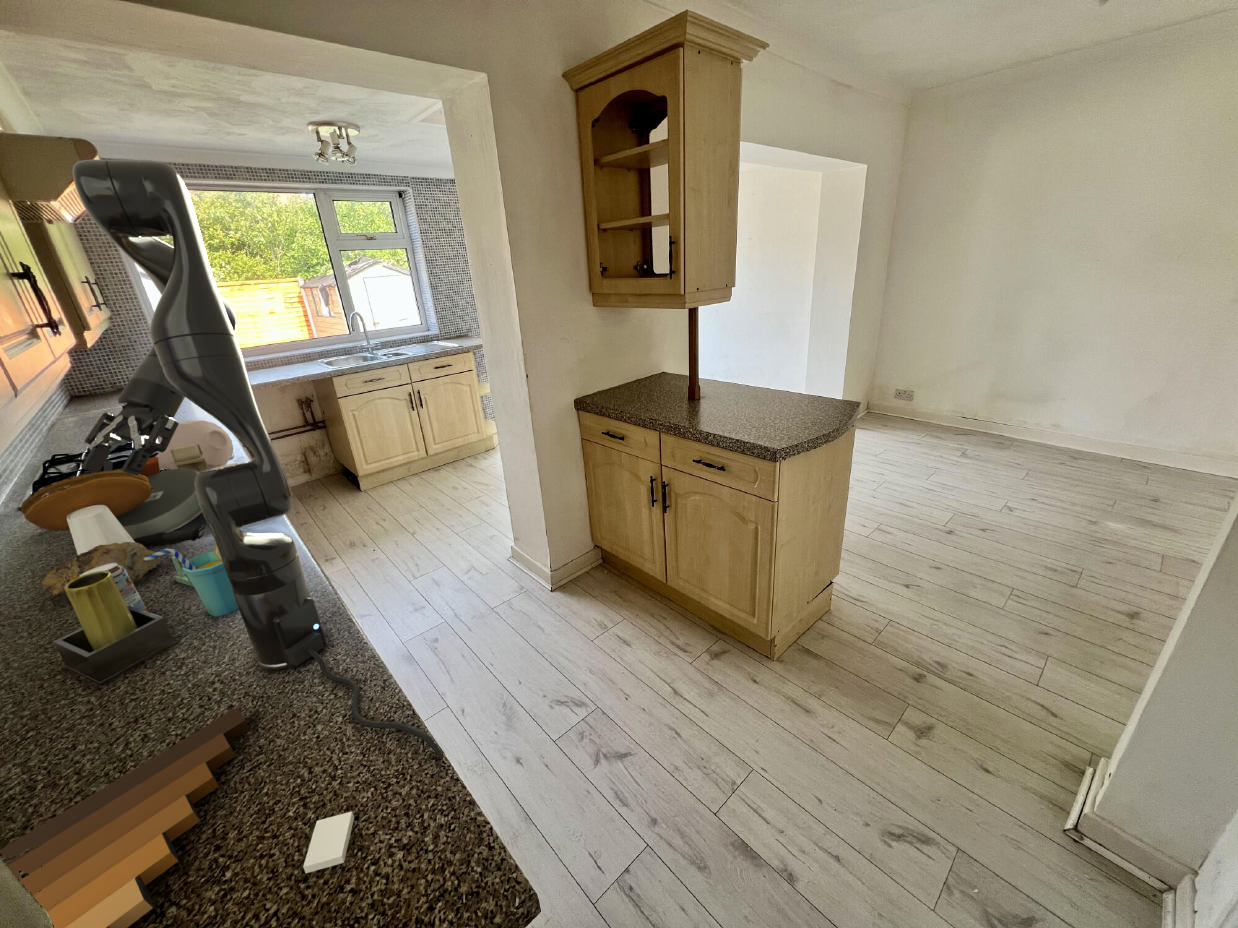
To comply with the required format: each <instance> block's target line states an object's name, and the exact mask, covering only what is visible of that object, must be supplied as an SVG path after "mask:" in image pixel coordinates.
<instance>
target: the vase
mask: <svg viewBox="0 0 1238 928" xmlns="http://www.w3.org/2000/svg"><path fill="white" fill-rule="evenodd" d="M64 588H65V591H66V594H67V596H68V598H69V600H70V601H69V602H70V604H71V606H72V608H73V610H74V612H75V615H76V617H77V619H78V621H79V623H80V626H81V628H83V630H84V632H85V634H86V636H87V639H88V641H89V643H90V645H91V646H92V648H93V650H94V651H95V650H97V649H99V648H101V647H103V646H105V645H107V644H109V643H111V642H113V641H114V640H116V639H118V638H120V637H122V636H124V635H126V634H128V633H130V632H132V631H134V630H136V629H138V627H137V626H136V624H135V621H134V619H133V617H132V615H131V613H130V611H129V609H128V607H127V606H126V604H125V602H124V600H123V598H122V596H121V594H120V591H119V589H118V587H117V585H116V583H115V581H114V579H113V577H112V575H111V573H110V572H109V571H98V572H93V573H89V574H86V575H83V576H80V577H78V578H76V579H74V580H72V581H70V582H69V583H67V584H66V585H65V587H64Z"/></svg>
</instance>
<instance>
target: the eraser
mask: <svg viewBox="0 0 1238 928" xmlns="http://www.w3.org/2000/svg"><path fill="white" fill-rule="evenodd" d="M354 821H355V815H354V813H353V811H348V812H345V813H341V814H337V815H333V816H330V817H326V818H322V819H319V820H316V823H315V826H314V829H313V833H312V836H311V838H310V839H311V840H310V841H309V845H308V849H307V853H306V855H305V856H306V857H305V859H304V863H303V866H302V868H303V870H304V872H305V874H308V873H312V872H316V871H319V870H322V869H327V868H330V867H334V866H337V865H341V864H344V863H345V859H346V854H347V851H348V847H349V842H350V837H351V833H352V829H353V825H354Z"/></svg>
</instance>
